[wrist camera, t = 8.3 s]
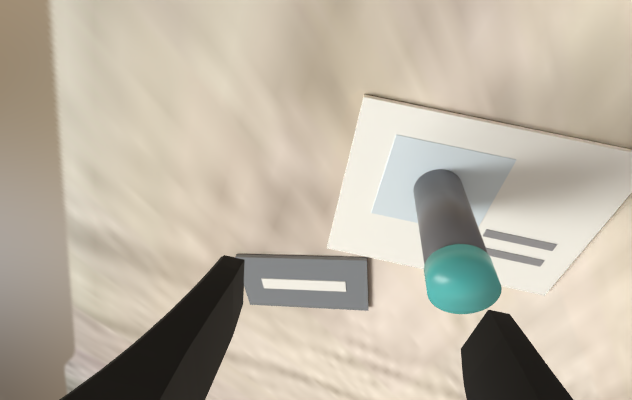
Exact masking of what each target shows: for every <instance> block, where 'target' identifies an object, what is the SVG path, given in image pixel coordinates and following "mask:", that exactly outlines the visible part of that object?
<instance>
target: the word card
mask: <svg viewBox="0 0 632 400" xmlns="http://www.w3.org/2000/svg"><path fill="white" fill-rule="evenodd" d="M235 258H239V259H244V260H245V263H244V286H245V289H246V293H247V296H248V299H249V302H250V305H269V306H289V307H308V308H328V309H347V310H367V311H368V277H367V257H330V256H291V255H251V254H237V255H236V257H235Z"/></svg>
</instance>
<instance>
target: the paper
mask: <svg viewBox="0 0 632 400" xmlns="http://www.w3.org/2000/svg"><path fill="white" fill-rule="evenodd" d="M436 169H445V170H449V171H451V172H453V173H455V174H456V175H457V176H458V177H459V178H460V179H461V182H462V184H463V187H464V190H465V193H466V195H467V198H468V201H469V203H470V206H471V209H472V212H473V214H474V217H475V220H476V223H477V225H478V228H479V231H480V234H481V236H482V239H483V242H484V244H485V247H486V250H487V253H488V255H489V256H490V258H491V260H492V262H493V265H494V268H495V270H496V273H497V276H498V278H499V281H500V284H501V286H503V287H507V288H512V289H517V290H521V291H526V292H530V293H535V294H540V295H544V296H545V294H546V293H547V292H548V291H549V290H550V288H551V287H552V286H553V285H554V284H555V283H556V281H557V280H558V279H559V278H560V277H561V275H562V274H563V273H564V272H565V271H566V270H567V268H568V267H569V266H570V265H571V264H572V262H573V261H574V260H575V259H576V258H577V257H578V255H579V254H580V253H581V252H582V251H583V249H584V248H585V247H586V246H587V245H588V244H589V242H590V241H591V240H592V239H593V238H594V236H595V235H596V234H597V233H598V232H599V231H600V229H601V228H602V227H603V226H604V225H605V223H606V222H607V221H608V220H609V219H610V218H611V216H612V215H613V214H614V213H615V212H616V210H617V209H618V208H619V207H620V206H621V205H622V203H623V202H624V201H625V200H626V199H627V197H628V196H629V195H630V194H631V193H632V150H631V149H627V148H622V147H617V146H612V145H607V144H602V143H598V142H593V141H588V140H583V139H578V138H573V137H568V136H564V135H559V134H554V133H549V132H544V131H539V130H535V129H530V128H525V127H520V126H515V125H510V124H506V123H501V122H496V121H491V120H486V119H481V118H476V117H472V116H467V115H462V114H457V113H452V112H447V111H443V110H438V109H433V108H428V107H423V106H418V105H414V104H409V103H404V102H399V101H394V100H389V99H384V98H380V97H375V96H370V95H365V94H364V96H363V101H362V105H361V109H360V113H359V117H358V121H357V125H356V129H355V133H354V138H353V142H352V146H351V150H350V154H349V158H348V162H347V166H346V170H345V175H344V179H343V183H342V187H341V191H340V195H339V199H338V203H337V207H336V212H335V216H334V220H333V224H332V228H331V232H330V236H329V240H328V245H327V248H328V249H333V250H337V251H342V252H347V253H351V254H356V255H360V256H365V257H370V258H374V259H379V260H383V261H388V262H393V263H397V264H402V265H406V266H411V267H416V268H420V269H424V259H423V252H422V246H421V239H420V232H419V226H418V219H417V212H416V206H415V199H414V192H413V189H414V185H415V183H416V181H417V180H418V178H419V177H420V176H422V175H423V174H425V173H426V172H429V171H431V170H436Z"/></svg>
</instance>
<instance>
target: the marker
mask: <svg viewBox="0 0 632 400" xmlns="http://www.w3.org/2000/svg"><path fill="white" fill-rule="evenodd" d="M413 192H414V199H415V206H416V212H417V219H418V226H419V232H420V239H421V246H422V252H423V259H424V274H425V281H426V288H427V295H428V298H429V300H430V301H431V303H432V304H433V305H434V306H436V307H437V308H439V309H441V310H443V311H446V312H449V313H455V314H469V313H475V312H479V311H482V310H484V309H486V308H488V307H490V306H491V305H493V304H494V303H495V302H496V301H497V300H498V298H499V296H500V294H501V284H500V281H499V278H498V276H497V273H496V270H495V268H494V265H493V262H492V260H491V258H490V256H489V255H488V253H487V250H486V247H485V244H484V242H483V239H482V236H481V234H480V231H479V228H478V225H477V223H476V220H475V217H474V214H473V212H472V209H471V206H470V203H469V201H468V198H467V195H466V193H465V190H464V187H463V184H462V182H461V179H460V178H459V177H458V176H457V175H456V174H455V173H453V172H451V171H449V170H445V169H436V170H431V171H429V172H426V173H425V174H423V175H422V176H420V177H419V178H418V180H417V181H416V183H415V185H414V189H413Z"/></svg>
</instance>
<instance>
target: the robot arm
mask: <svg viewBox="0 0 632 400" xmlns="http://www.w3.org/2000/svg"><path fill="white" fill-rule="evenodd" d="M244 263H245V260H244V259H239V258H235V257H230V256H225V255H224V256H223V257H221V258H220V259H219V260H218V261H217V263H216V264H215V265H214V266H213V267H212V268H211V269H210V271H209V272H208V273H207V274H206V275H205V276H204V277H203V278H202V279H201V280H200V281H199V282H198V283H197V285H196V286H195V287H194V288H193V289H192V290H191V291H190V292H189V293H188V294H187V295H186V296H185V297H184V298H183V299H182V300H181V301H180V302H179V303H178V304H177V305H176V306H175V307H174V308H173V309H172V310H171V311H169V312H168V313H167V314H166V315H165V316H164V317H163V318H162V319H161V320H160V321H159V322H157V323H156V324H155V325H154V326H153V327H152V328H151V329H150V330H148V331H147V332H146V333H145V334H144V335H143V336H142V337H141V338H140V339H138V340H137V341H136V342H135V343H134V344H132V345H131V346H130V347H129V348H128V349H126V350H125V351H124V352H123V353H121V354H120V355H119V356H118V357H116V358H115V359H114V360H113V361H111V362H110V363H109V364H108V365H106V366H105V367H104V368H102V369H101V370H100V371H99V372H97V373H96V374H94V375H93V376H92V377H90V378H89V379H88V380H86V381H85V382H84V383H82V384H81V385H79V386H78V387H77V388H75V389H74V390H73V391H71V392H70V393H68V394H67V395H66V396H64V397H63V398H61V399H60V400H205V398H206V396H207V394H208V392H209V389H210V387H211V385H212V383H213V380H214V378H215V376H216V373H217V371H218V369H219V367H220V364H221V362H222V360H223V357H224V355H225V353H226V350H227V348H228V346H229V344H230V341H231V339H232V337H233V334H234V331H235V327H236V324H237V321H238V318H239V315H240V312H241V308H242V305H243V291H244ZM461 358H462V371H463V380H464V388H465V393H466V398H467V400H573V399H572V397H571V396H570V395H569V393H568V392H567V391H566V389H565V388H564V387H563V385H562V384H561V383H560V382H559V380H558V379H557V378H556V376H555V375H554V374H553V372H552V371H551V370H550V368H549V367H548V366H547V364H546V363H545V361H544V360H543V359H542V357H541V356H540V355H539V353H538V352H537V351H536V349H535V348H534V346H533V345H532V344H531V342H530V341H529V340H528V338H527V337H526V336H525V334H524V333H523V331H522V330H521V329H520V327H519V326H518V325H517V323H516V322H515V321H514V319H513V318H512V317H511V315H510V314H506V313H502V312H497V311H492V310H488V311H487V312H486V314H485V315H484V317H483V318H482V320H481V321H480V322H479V324H478V325H477V327H476V328H475V330H474V331H473V332H472V334H471V335H470V337H469V338H468V340H467V341H466V342H465V344H464V345H463V347H462V348H461Z"/></svg>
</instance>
